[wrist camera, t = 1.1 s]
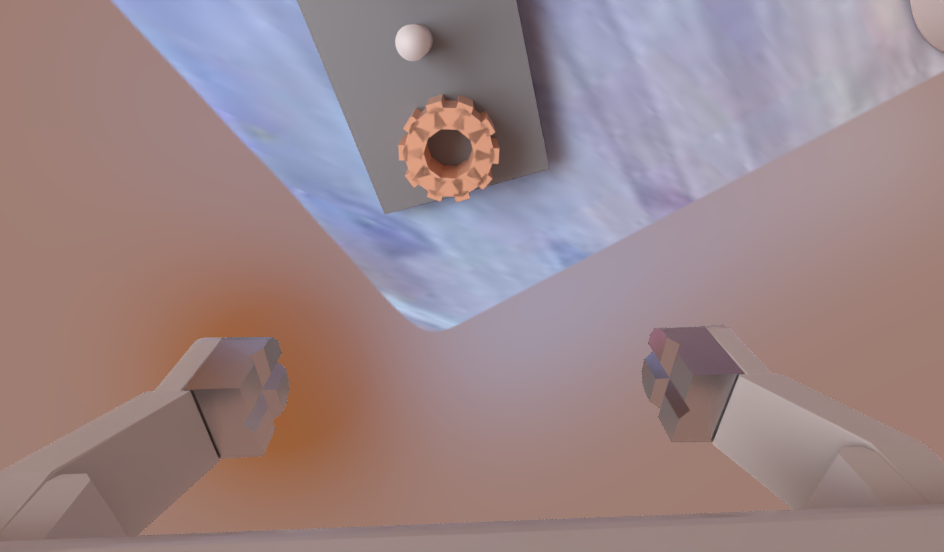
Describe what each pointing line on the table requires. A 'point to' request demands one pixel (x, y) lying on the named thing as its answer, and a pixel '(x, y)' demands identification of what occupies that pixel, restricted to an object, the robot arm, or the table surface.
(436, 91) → the gear board
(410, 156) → the loose gear
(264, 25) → the table surface
